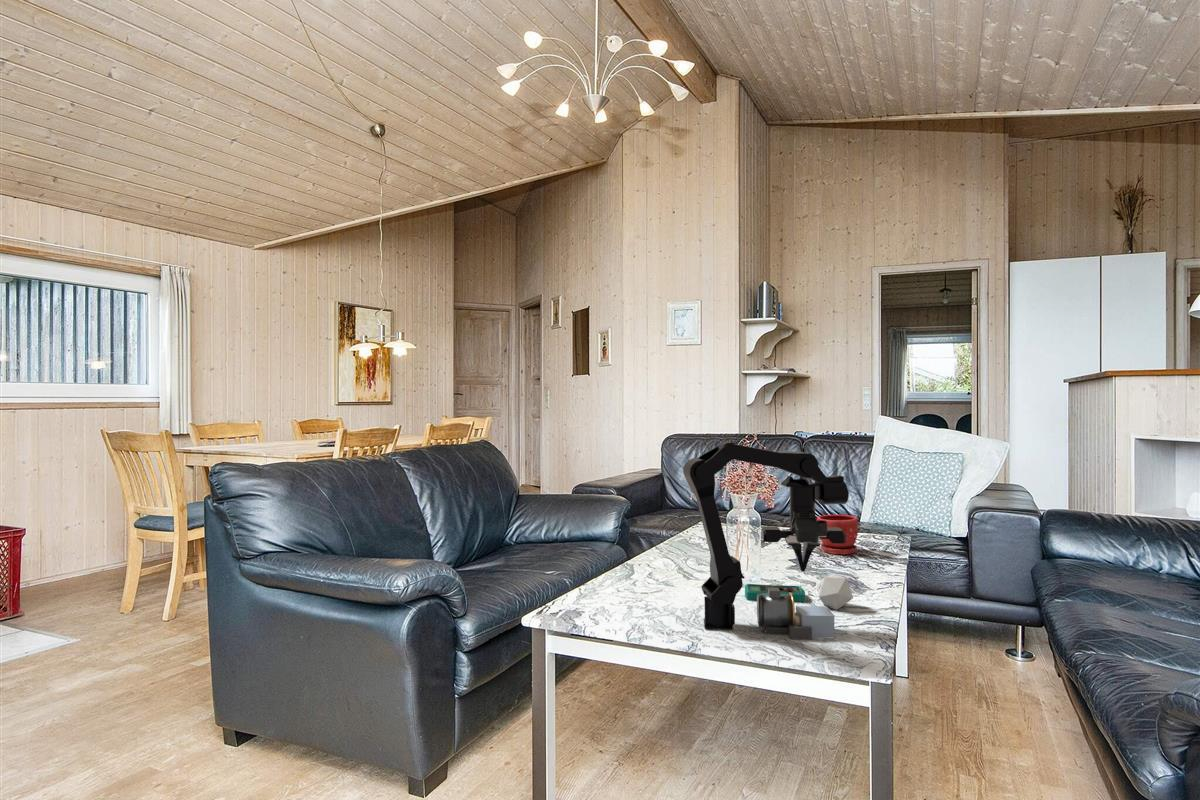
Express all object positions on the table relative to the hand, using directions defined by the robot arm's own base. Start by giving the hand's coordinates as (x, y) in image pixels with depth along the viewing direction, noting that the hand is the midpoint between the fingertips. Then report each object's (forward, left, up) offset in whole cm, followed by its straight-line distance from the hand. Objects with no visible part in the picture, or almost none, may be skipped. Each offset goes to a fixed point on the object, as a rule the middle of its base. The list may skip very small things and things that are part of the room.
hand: (802, 570), depth 165 cm
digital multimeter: (-4, +20, -13) cm, 24 cm away
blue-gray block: (+1, -7, -12) cm, 14 cm away
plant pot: (+24, +76, -12) cm, 81 cm away
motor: (-8, -7, -12) cm, 16 cm away
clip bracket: (-2, -7, -12) cm, 14 cm away
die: (+10, +13, -12) cm, 20 cm away
